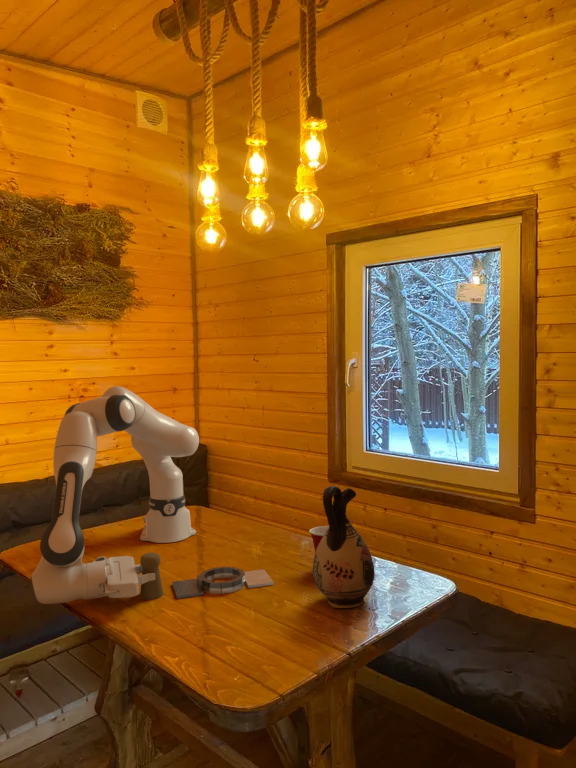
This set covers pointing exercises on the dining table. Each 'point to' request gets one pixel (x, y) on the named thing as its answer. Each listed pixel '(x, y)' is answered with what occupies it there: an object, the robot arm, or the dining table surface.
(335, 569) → the ceramic jug
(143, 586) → the cork
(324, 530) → the plastic cup
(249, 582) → the ring
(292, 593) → the dining table surface
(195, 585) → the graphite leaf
